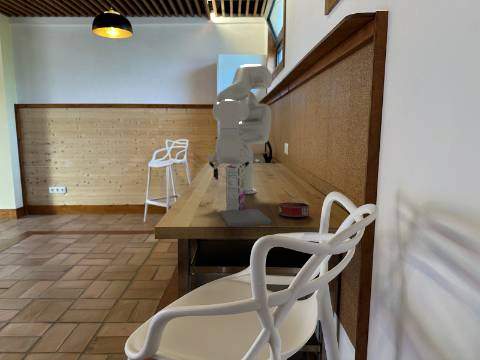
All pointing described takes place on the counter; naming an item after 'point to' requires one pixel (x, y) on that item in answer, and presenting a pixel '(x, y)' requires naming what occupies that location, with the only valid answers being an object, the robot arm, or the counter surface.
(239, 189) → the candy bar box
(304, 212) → the canned food
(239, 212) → the mat
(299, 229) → the counter surface
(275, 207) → the counter surface
